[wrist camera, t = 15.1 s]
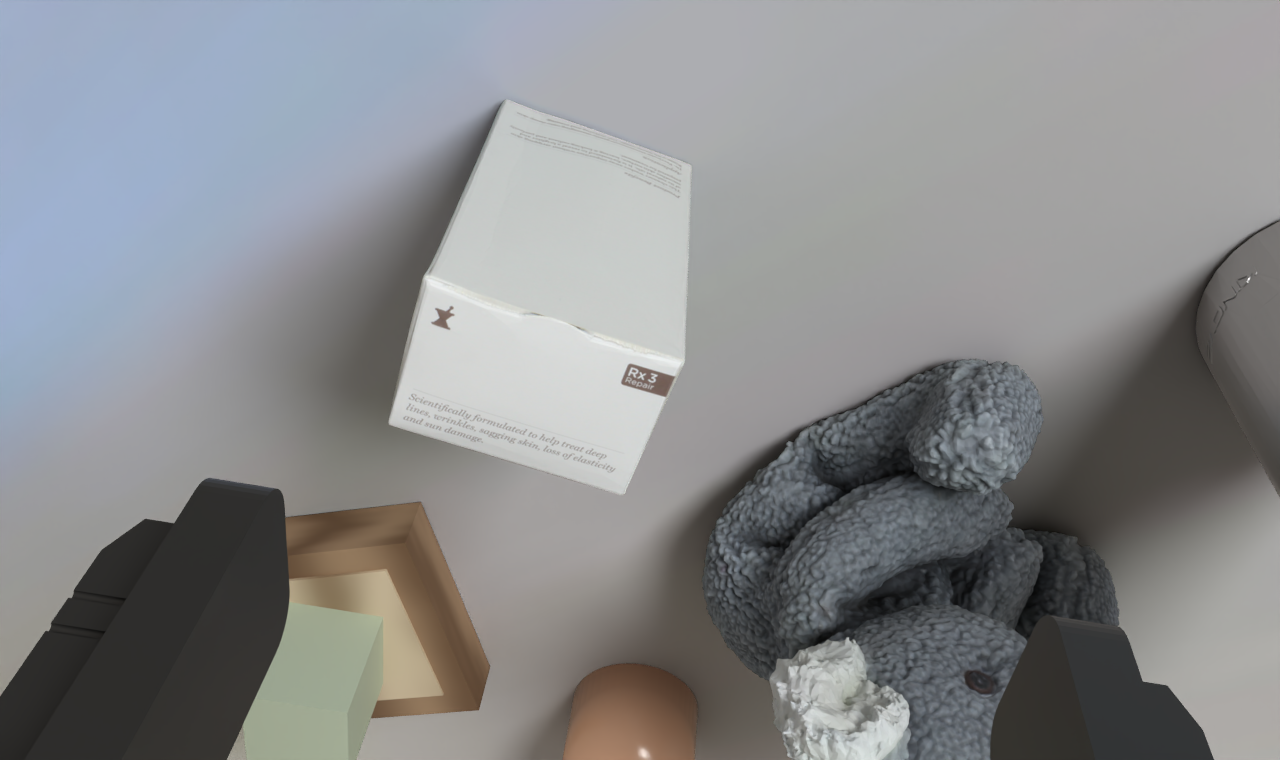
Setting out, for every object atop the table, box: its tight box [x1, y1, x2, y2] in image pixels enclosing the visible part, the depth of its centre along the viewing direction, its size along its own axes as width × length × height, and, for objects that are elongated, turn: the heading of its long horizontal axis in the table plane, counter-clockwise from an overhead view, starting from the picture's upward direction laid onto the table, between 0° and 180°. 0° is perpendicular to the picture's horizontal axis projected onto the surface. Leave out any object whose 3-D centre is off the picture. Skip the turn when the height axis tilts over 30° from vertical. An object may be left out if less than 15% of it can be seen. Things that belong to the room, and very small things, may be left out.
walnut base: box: [285, 502, 490, 718], centre depth 61 cm, size 12×12×3 cm
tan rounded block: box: [563, 663, 698, 760], centre depth 63 cm, size 7×7×6 cm
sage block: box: [243, 602, 383, 760], centre depth 57 cm, size 5×5×6 cm
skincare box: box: [388, 100, 692, 495], centre depth 41 cm, size 8×6×15 cm
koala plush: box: [702, 359, 1119, 760], centre depth 48 cm, size 17×18×20 cm
